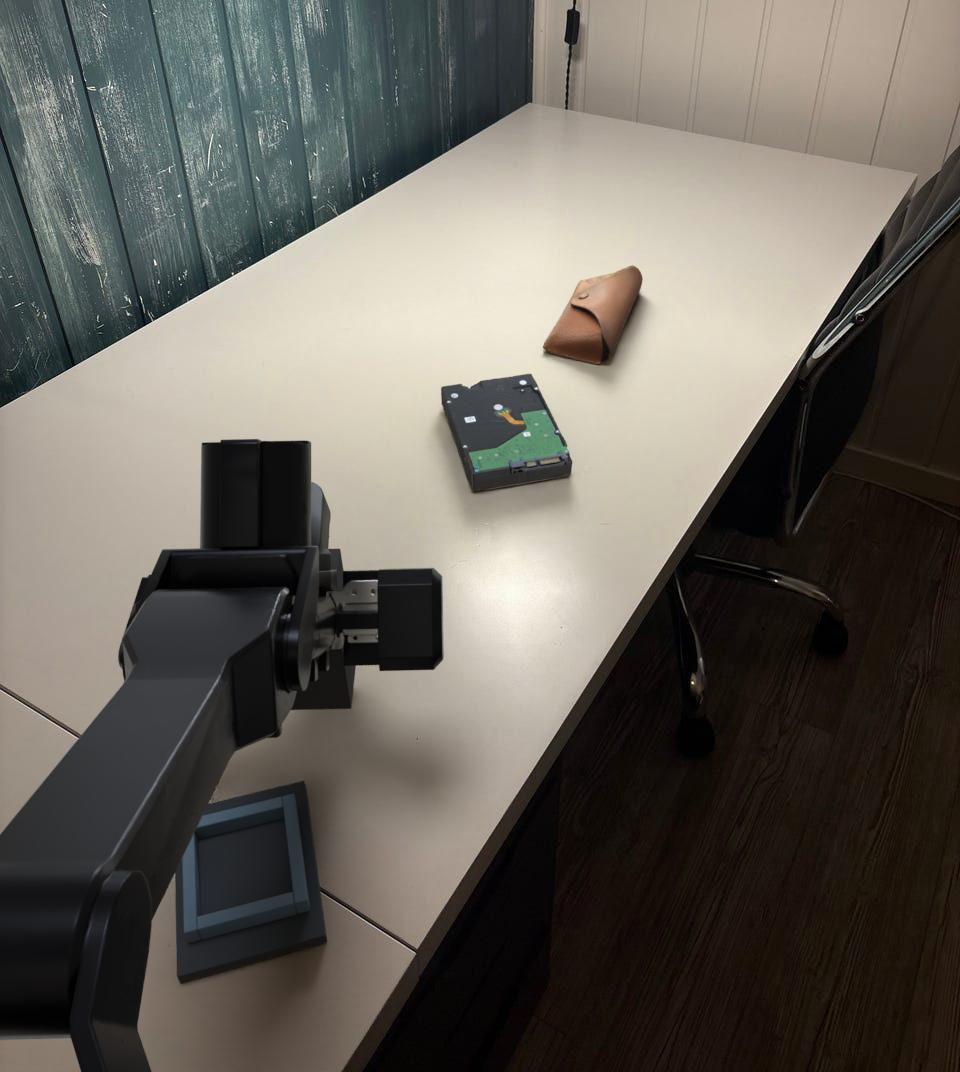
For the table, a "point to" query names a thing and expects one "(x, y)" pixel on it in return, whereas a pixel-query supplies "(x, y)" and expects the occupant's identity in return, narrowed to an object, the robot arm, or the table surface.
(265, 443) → the robot arm
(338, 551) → the dark grey square block
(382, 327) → the table surface
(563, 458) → the disk drive
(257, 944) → the base pad
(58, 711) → the table surface
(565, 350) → the sunglasses case
